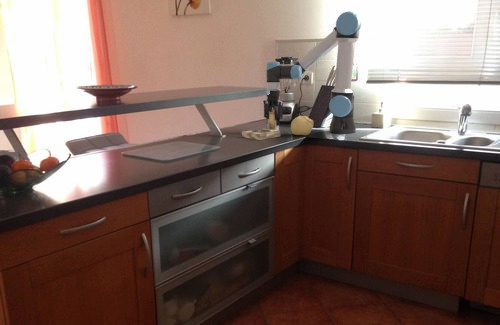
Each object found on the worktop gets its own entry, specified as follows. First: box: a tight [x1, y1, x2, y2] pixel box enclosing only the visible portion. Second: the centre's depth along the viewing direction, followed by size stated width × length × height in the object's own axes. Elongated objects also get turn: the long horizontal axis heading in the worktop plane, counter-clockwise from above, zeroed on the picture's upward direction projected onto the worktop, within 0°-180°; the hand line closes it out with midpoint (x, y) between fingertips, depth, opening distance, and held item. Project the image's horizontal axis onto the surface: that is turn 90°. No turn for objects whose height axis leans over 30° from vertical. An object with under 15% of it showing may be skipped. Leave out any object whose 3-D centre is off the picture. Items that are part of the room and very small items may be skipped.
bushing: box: [269, 110, 276, 130], centre depth 255 cm, size 5×5×12 cm
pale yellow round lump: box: [290, 115, 315, 136], centre depth 246 cm, size 11×12×11 cm
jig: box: [241, 128, 281, 141], centre depth 243 cm, size 14×16×3 cm
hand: (273, 130), depth 256 cm, fingers open, 5 cm apart
